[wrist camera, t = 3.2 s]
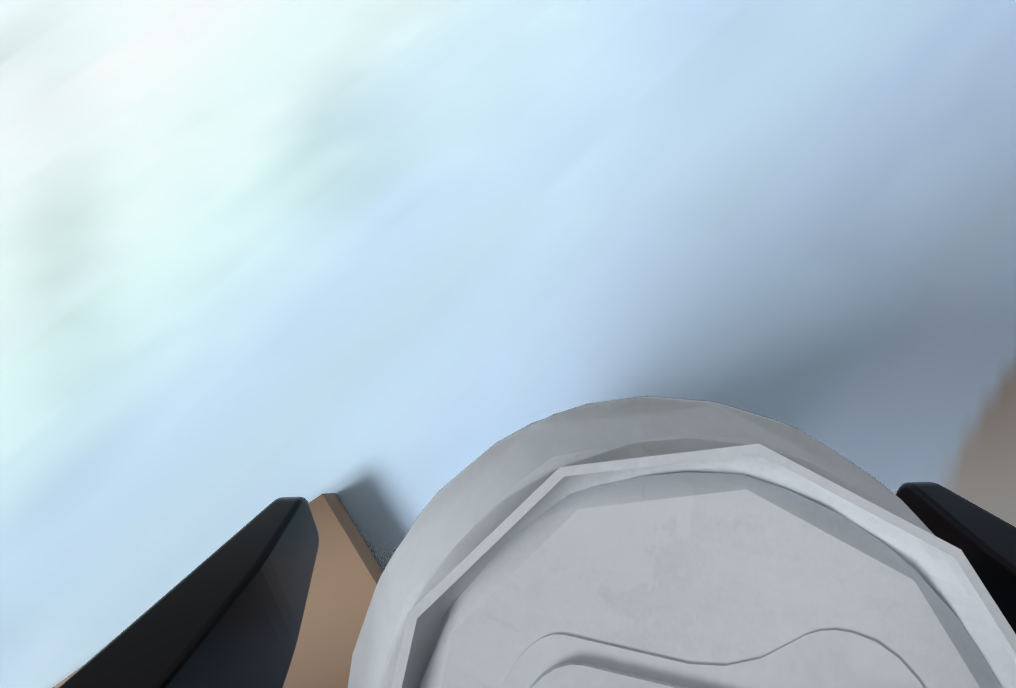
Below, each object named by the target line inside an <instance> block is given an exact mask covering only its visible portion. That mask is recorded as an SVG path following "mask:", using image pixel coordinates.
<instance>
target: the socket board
mask: <svg viewBox="0 0 1016 688" xmlns="http://www.w3.org/2000/svg"><path fill="white" fill-rule="evenodd" d="M309 506H310V509H311V512H312V515H313V518H314V521H315V523H316V526H317V529H318V533H319V547H318V552H317V556H316V561H315V565H314V570H313V574H312V578H311V583H310V587H309V592H308V596H307V601H306V605H305V610H304V614H303V619H302V623H301V628H300V632H299V636H298V640H297V644H296V648H295V651H294V654H293V658H292V661H291V664H290V667H289V670H288V673H287V676H286V679H285V682H284V685H283V688H348V682H349V675H350V668H351V661H352V654H353V651H354V649H355V646H356V643H357V640H358V637H359V634H360V631H361V628H362V626H363V623H364V620H365V617H366V614H367V611H368V608H369V605H370V603H371V600H372V597H373V594H374V591H375V588H376V586H377V584H378V581H379V579H380V576H381V575H382V573H383V570H382V568H381V567H380V565H379V563H378V562H377V560H376V558H375V557H374V555H373V553H372V552H371V550H370V549H369V547H368V545H367V544H366V542H365V540H364V539H363V537H362V535H361V534H360V532H359V530H358V529H357V527H356V526H355V524H354V522H353V521H352V519H351V517H350V516H349V514H348V512H347V511H346V509H345V507H344V506H343V504H342V503H341V501H340V499H339V498H338V496H337V494H336V493H329V494H321V495H320V496H319V497H317V498H316V499H314V500H313V501H312V502H310V503H309ZM82 667H83V666H82ZM82 667H81V668H82ZM79 669H80V668H79ZM79 669H78V670H79ZM78 670H77V671H78ZM77 671H75V672H74V673H73V674H75V673H76V672H77ZM73 674H71V675H70V676H68V677H67V678H66V679H64V680H63V681H61V682H60V683H59V684H57V685H56V686H54V687H53V688H58V687H60V686H61V685H62V684H63V683H64V682H65V681H66V680H68V679H69V678H70V677H71V676H72V675H73Z"/></svg>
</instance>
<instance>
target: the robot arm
mask: <svg viewBox="0 0 1016 688" xmlns="http://www.w3.org/2000/svg"><path fill="white" fill-rule="evenodd" d="M896 496H898V497H899V498H900V499H901V500H902V501H903V502H904V503H905V504H906V505H907V506H908V507H909V508H910V509H911V510H912V512H913V513H914V514H915V515H916V516H917V517H918V518H919V519H920V520H921V521H922V522H923V523H924V524H925V525H926V527H927V528H928V529H929V530H930V531H931V532H932V533H933V534H934V535H935V536H936V537H938V538H940V539H942V540H944V541H946V542H948V543H950V544H951V545H953V546H955V547H957V548H959V549H961V550H962V552H963V553H964V555H965V556H966V558H967V560H968V561H969V563H970V564H971V566H972V567H973V569H974V570H975V572H976V574H977V575H978V577H979V578H980V580H981V581H982V583H983V584H984V586H985V587H986V589H987V591H988V592H989V594H990V595H991V597H992V598H993V600H994V601H995V603H996V605H997V606H998V608H999V609H1000V611H1001V612H1002V614H1003V615H1004V617H1005V619H1006V620H1007V622H1008V623H1009V625H1010V626H1011V628H1012V629H1013V631H1014V632H1015V634H1016V528H1015V527H1014V526H1012V525H1010V524H1009V523H1007V522H1005V521H1003V520H1001V519H1000V518H998V517H996V516H994V515H993V514H991V513H989V512H987V511H985V510H983V509H982V508H980V507H978V506H976V505H975V504H973V503H971V502H969V501H968V500H966V499H964V498H962V497H960V496H959V495H957V494H955V493H953V492H952V491H950V490H948V489H946V488H945V487H943V486H941V485H939V484H936V483H932V482H914V483H905V484H903V485H902V486H900V488H899V489H898V491H897V493H896ZM318 547H319V533H318V529H317V526H316V523H315V521H314V518H313V515H312V512H311V509H310V506H309V503H308V501H307V500H306V499H305V498H303V497H282V498H278V499H276V500H275V501H273V502H272V503H271V504H270V505H269V506H268V507H266V508H265V509H264V510H263V511H262V512H261V513H259V514H258V515H257V516H256V517H255V518H254V519H253V520H251V521H250V522H249V523H248V524H247V525H246V526H244V527H243V528H242V529H241V530H240V531H239V532H238V533H236V534H235V535H234V536H233V537H232V538H231V539H229V540H228V541H227V542H226V543H225V544H224V545H222V546H221V547H220V548H219V549H218V550H217V551H216V552H214V553H213V554H212V555H211V556H210V557H209V558H207V559H206V560H205V561H204V562H203V563H202V564H201V565H199V566H198V567H197V568H196V569H195V570H194V571H192V572H191V573H190V574H189V575H188V576H187V577H186V578H184V579H183V580H182V581H181V582H180V583H179V584H177V585H176V586H175V587H174V588H173V589H172V590H170V591H169V592H168V593H167V594H166V595H165V596H164V597H162V598H161V599H160V600H159V601H158V602H157V603H155V604H154V605H153V606H152V607H151V608H150V609H149V610H147V611H146V612H145V613H144V614H143V615H142V616H140V617H139V618H138V619H137V620H136V621H135V622H134V623H132V624H131V625H130V626H129V627H128V628H127V629H125V630H124V631H123V632H122V633H121V634H120V635H118V636H117V637H116V638H115V639H114V640H113V641H112V642H110V643H109V644H108V645H107V646H106V647H105V648H103V649H102V650H101V651H100V652H99V653H98V654H97V655H95V656H94V657H93V658H92V659H91V660H90V661H88V662H87V663H86V664H85V665H84V666H83V667H82V668H80V669H79V670H78V671H77V672H76V673H75V674H73V675H72V676H71V677H70V678H69V679H68V680H66V681H65V682H64V683H63V684H62V685H61V686H60V687H58V688H283V685H284V682H285V679H286V676H287V673H288V670H289V667H290V664H291V661H292V658H293V654H294V651H295V648H296V644H297V640H298V636H299V632H300V628H301V623H302V619H303V614H304V610H305V605H306V601H307V596H308V592H309V587H310V583H311V578H312V574H313V570H314V565H315V561H316V556H317V552H318Z"/></svg>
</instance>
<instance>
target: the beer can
mask: <svg viewBox="0 0 1016 688" xmlns="http://www.w3.org/2000/svg"><path fill="white" fill-rule="evenodd" d="M348 688H1016V634H1015V632H1014V631H1013V629H1012V628H1011V626H1010V625H1009V623H1008V622H1007V620H1006V619H1005V617H1004V615H1003V614H1002V612H1001V611H1000V609H999V608H998V606H997V605H996V603H995V601H994V600H993V598H992V597H991V595H990V594H989V592H988V591H987V589H986V587H985V586H984V584H983V583H982V581H981V580H980V578H979V577H978V575H977V574H976V572H975V570H974V569H973V567H972V566H971V564H970V563H969V561H968V560H967V558H966V556H965V555H964V553H963V552H962V550H961V549H959V548H957V547H955V546H953V545H951V544H950V543H948V542H946V541H944V540H942V539H940V538H938V537H936V536H935V535H934V534H933V533H932V532H931V531H930V530H929V529H928V528H927V527H926V525H925V524H924V523H923V522H922V521H921V520H920V519H919V518H918V517H917V516H916V515H915V514H914V513H913V512H912V510H911V509H910V508H909V507H908V506H907V505H906V504H905V503H904V502H903V501H902V500H901V499H900V498H899V497H898V496H896V495H895V494H894V493H893V492H891V491H890V490H889V489H888V488H886V487H885V486H884V485H883V484H882V483H880V482H879V481H878V480H877V479H875V478H874V477H873V476H871V475H870V474H868V473H867V472H865V471H864V470H862V469H861V468H859V467H858V466H856V465H855V464H853V463H852V462H850V461H849V460H847V459H846V458H845V457H843V456H842V455H840V454H839V453H837V452H836V451H834V450H832V449H830V448H829V447H827V446H825V445H824V444H822V443H820V442H819V441H817V440H815V439H813V438H812V437H810V436H808V435H807V434H805V433H803V432H802V431H800V430H798V429H796V428H794V427H792V426H789V425H787V424H784V423H782V422H779V421H777V420H774V419H770V418H767V417H764V416H760V415H757V414H754V413H750V412H747V411H744V410H740V409H737V408H734V407H730V406H727V405H724V404H720V403H717V402H713V401H701V400H689V399H677V398H665V397H654V396H644V397H635V398H627V399H620V400H612V401H604V402H597V403H589V404H585V405H582V406H579V407H575V408H572V409H569V410H566V411H563V412H560V413H557V414H553V415H551V416H549V417H547V418H545V419H543V420H540V421H537V422H534V423H531V424H529V425H528V426H526V427H524V428H522V429H520V430H518V431H517V432H515V433H513V434H511V435H509V436H508V437H506V438H504V439H502V440H500V441H498V442H497V443H495V444H494V445H493V446H491V447H490V448H489V449H488V450H487V451H486V452H484V453H483V454H482V455H481V456H480V457H478V458H477V459H476V460H475V461H474V462H473V463H471V464H470V465H469V466H468V467H467V468H465V469H464V470H463V471H462V472H461V473H459V474H458V475H457V476H456V477H455V478H454V479H452V480H451V481H450V482H449V483H448V484H446V485H445V486H444V487H443V488H442V489H441V490H439V491H438V492H437V493H436V495H435V496H434V497H433V498H432V499H431V501H430V502H429V503H428V504H427V505H426V507H425V508H424V509H423V510H422V512H421V513H420V514H419V516H418V517H417V519H416V520H415V522H414V524H413V525H412V527H411V528H410V530H409V532H408V533H407V535H406V536H405V538H404V539H403V541H402V542H401V543H400V545H399V546H398V548H397V549H396V550H395V552H394V554H393V555H392V557H391V559H390V561H389V562H388V564H387V566H386V568H385V569H384V571H383V573H382V575H381V576H380V579H379V581H378V584H377V586H376V588H375V591H374V594H373V597H372V600H371V603H370V605H369V608H368V611H367V614H366V617H365V620H364V623H363V626H362V628H361V631H360V634H359V637H358V640H357V643H356V646H355V649H354V651H353V654H352V661H351V668H350V675H349V682H348Z"/></svg>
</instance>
